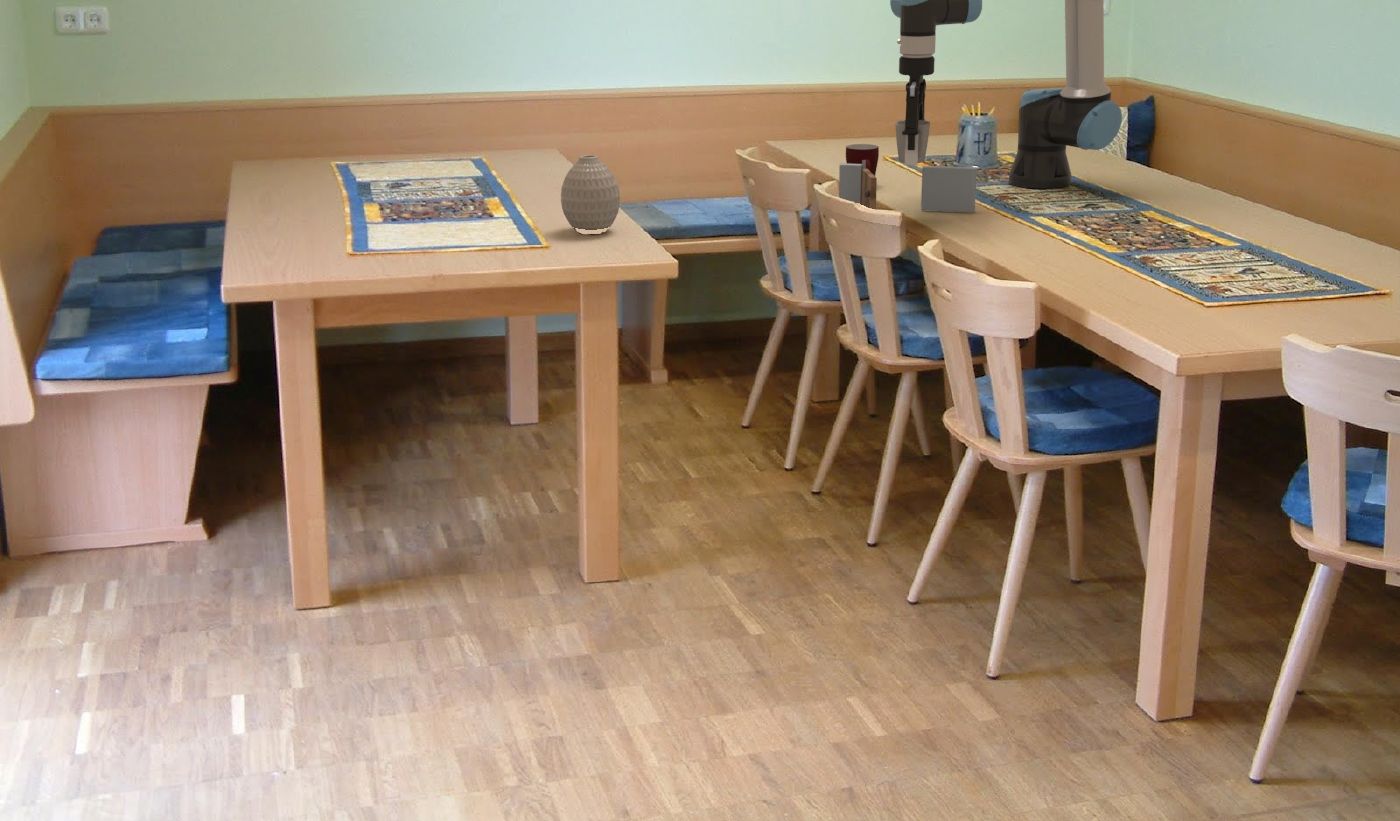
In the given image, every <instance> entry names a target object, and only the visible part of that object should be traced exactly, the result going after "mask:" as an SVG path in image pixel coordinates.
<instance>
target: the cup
mask: <svg viewBox="0 0 1400 821" xmlns="http://www.w3.org/2000/svg"><path fill="white" fill-rule="evenodd" d="M894 124H895V125H894V126H895V138H896V148H897V156H898V161H899V162H900V163H903V164H905V138H906V135H902V131H904V129H905V119H903V120H899V121H896V122H895V123H894ZM909 128H914V127H909ZM930 129H931V122H930V121H929V120H928V121H927V120H925V121H924V120H919V121H918V135H919V137H918V164H921V163H924V162H925V160H926V154H927V148H928V142H929V136H930V135H929V134H930Z"/></svg>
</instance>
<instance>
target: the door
mask: <svg viewBox="0 0 1400 821" xmlns="http://www.w3.org/2000/svg"><path fill="white" fill-rule="evenodd" d="M877 182H878V180H877V177H876V175H875V176H874V175H873V174H872V173H871V172H870V171H869V170H868V169H867V168H866V169H862V190H861V205H864V206H866V207H868V208H872V209H876V210H877Z"/></svg>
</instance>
